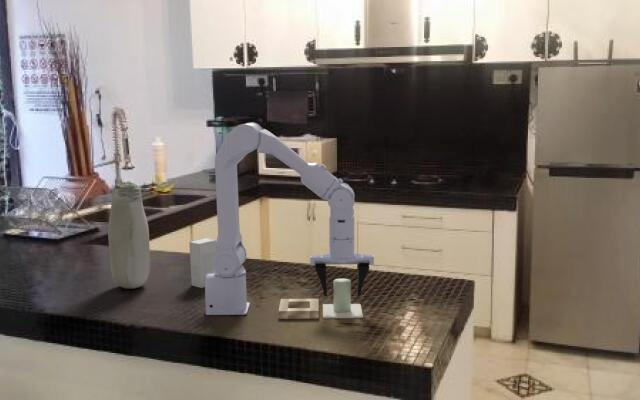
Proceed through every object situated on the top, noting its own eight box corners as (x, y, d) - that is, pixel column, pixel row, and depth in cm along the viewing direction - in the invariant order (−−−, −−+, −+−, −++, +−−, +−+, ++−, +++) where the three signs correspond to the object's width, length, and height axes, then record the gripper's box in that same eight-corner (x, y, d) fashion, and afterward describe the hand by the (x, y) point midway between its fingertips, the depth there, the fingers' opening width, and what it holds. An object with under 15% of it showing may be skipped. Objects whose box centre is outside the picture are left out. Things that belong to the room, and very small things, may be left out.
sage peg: (333, 312, 153) (333, 283, 151) (333, 307, 156) (333, 278, 155) (351, 312, 153) (351, 283, 151) (350, 307, 156) (350, 278, 155)
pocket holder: (278, 318, 150) (278, 311, 150) (280, 306, 159) (280, 299, 159) (318, 318, 150) (318, 310, 150) (318, 305, 159) (318, 298, 159)
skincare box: (207, 280, 182) (206, 237, 180) (218, 283, 179) (216, 239, 177) (190, 285, 177) (188, 241, 175) (201, 288, 175) (199, 243, 173)
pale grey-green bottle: (156, 288, 175) (151, 183, 170) (116, 295, 169) (110, 186, 165) (145, 280, 183) (140, 179, 179) (107, 285, 178) (100, 181, 173)
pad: (323, 318, 150) (323, 316, 150) (322, 305, 159) (322, 304, 159) (362, 317, 150) (362, 316, 150) (360, 305, 159) (360, 303, 159)
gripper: (309, 241, 148) (310, 300, 150) (375, 240, 148) (374, 299, 150) (310, 234, 155) (310, 291, 157) (372, 234, 155) (372, 290, 157)
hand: (342, 294), depth 154 cm, fingers open, 7 cm apart
